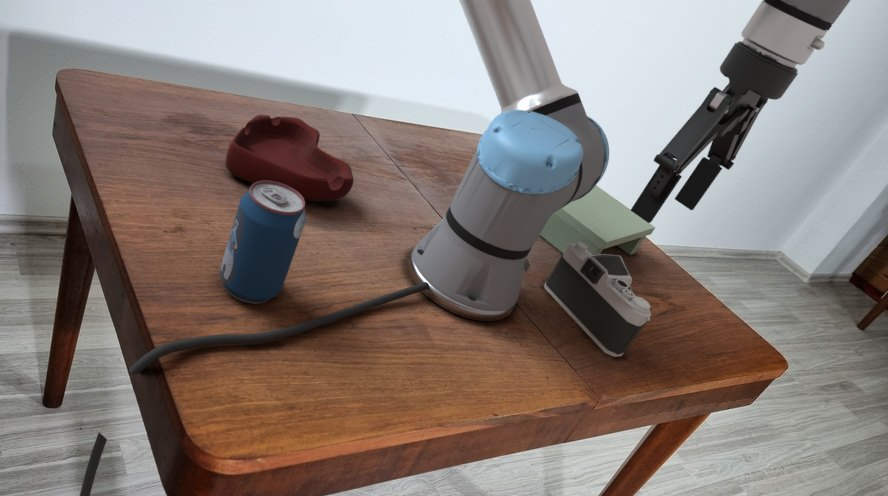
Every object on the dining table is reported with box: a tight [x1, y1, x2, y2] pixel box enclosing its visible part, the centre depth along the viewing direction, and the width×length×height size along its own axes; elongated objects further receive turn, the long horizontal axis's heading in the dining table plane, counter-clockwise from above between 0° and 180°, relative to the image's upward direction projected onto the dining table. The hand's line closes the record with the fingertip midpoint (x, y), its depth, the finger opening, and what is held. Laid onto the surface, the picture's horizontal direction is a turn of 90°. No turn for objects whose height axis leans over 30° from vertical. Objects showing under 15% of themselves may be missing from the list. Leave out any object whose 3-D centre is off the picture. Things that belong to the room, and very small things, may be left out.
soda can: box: [219, 181, 307, 305], centre depth 75 cm, size 7×7×12 cm
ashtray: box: [224, 114, 355, 206], centre depth 98 cm, size 18×16×5 cm
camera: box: [543, 242, 652, 358], centre depth 98 cm, size 16×9×10 cm, turn 30°
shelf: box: [539, 184, 656, 256], centre depth 119 cm, size 18×14×6 cm
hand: (663, 210), depth 90 cm, fingers open, 13 cm apart
